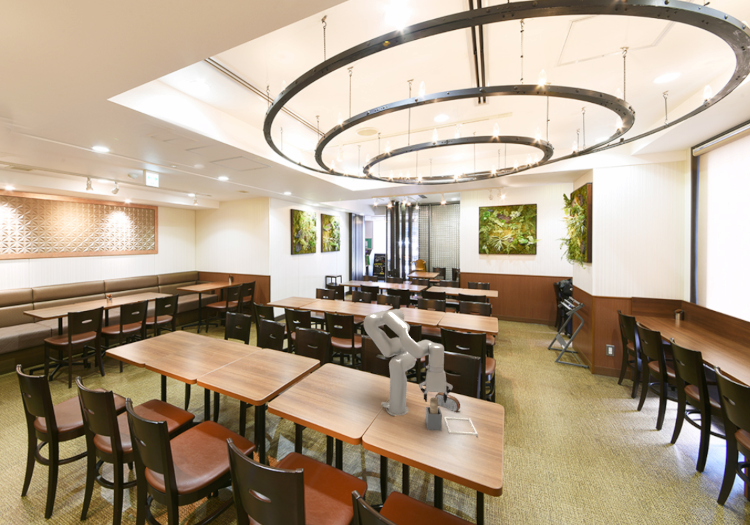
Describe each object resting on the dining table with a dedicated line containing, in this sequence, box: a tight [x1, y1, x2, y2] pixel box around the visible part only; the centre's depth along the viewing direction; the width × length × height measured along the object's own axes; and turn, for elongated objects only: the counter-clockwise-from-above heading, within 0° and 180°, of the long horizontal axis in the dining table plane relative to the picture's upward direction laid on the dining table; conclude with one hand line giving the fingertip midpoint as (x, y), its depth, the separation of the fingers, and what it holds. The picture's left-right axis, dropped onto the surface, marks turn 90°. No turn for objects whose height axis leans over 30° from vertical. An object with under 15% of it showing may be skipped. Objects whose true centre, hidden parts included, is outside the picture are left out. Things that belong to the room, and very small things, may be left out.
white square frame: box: [443, 416, 479, 438], centre depth 148 cm, size 14×13×2 cm
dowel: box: [429, 397, 439, 414], centre depth 147 cm, size 4×4×14 cm
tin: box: [434, 392, 461, 413], centre depth 166 cm, size 15×3×8 cm, turn 49°
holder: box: [425, 406, 443, 432], centre depth 148 cm, size 7×7×9 cm
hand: (435, 401), depth 147 cm, fingers open, 9 cm apart
